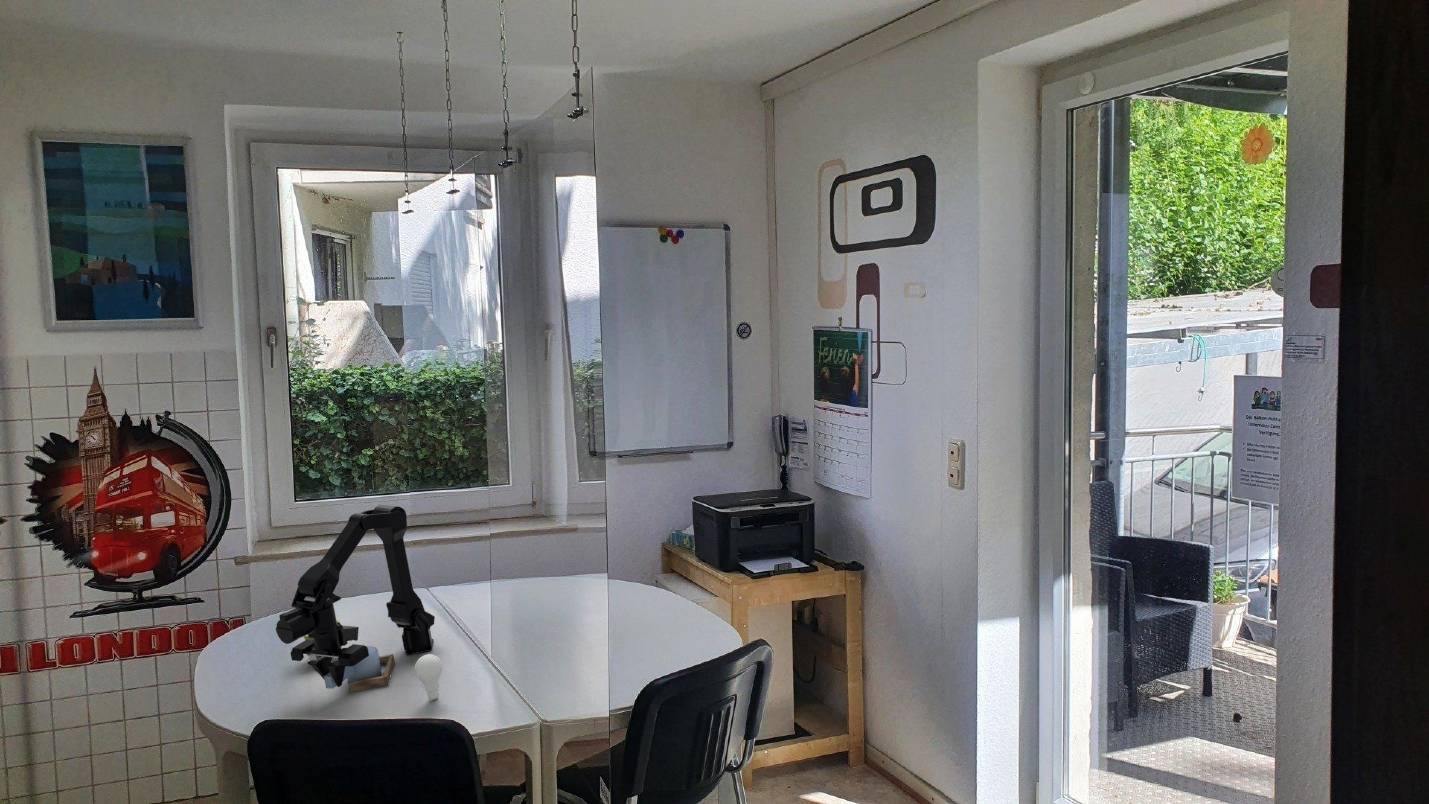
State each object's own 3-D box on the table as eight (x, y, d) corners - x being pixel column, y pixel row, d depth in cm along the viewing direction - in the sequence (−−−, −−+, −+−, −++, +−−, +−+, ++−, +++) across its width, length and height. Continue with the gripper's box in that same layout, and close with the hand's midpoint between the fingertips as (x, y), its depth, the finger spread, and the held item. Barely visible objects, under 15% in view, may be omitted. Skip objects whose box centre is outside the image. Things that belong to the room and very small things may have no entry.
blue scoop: (363, 668, 243) (358, 645, 242) (388, 671, 240) (384, 647, 239) (318, 700, 229) (313, 675, 228) (345, 703, 226) (340, 678, 225)
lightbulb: (423, 694, 226) (415, 651, 224) (449, 691, 227) (442, 648, 225) (417, 707, 220) (410, 663, 218) (444, 704, 221) (437, 660, 219)
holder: (394, 661, 245) (393, 653, 245) (388, 685, 233) (386, 676, 232) (358, 668, 243) (357, 660, 243) (350, 692, 231) (348, 683, 231)
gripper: (379, 612, 229) (390, 672, 232) (318, 607, 236) (329, 666, 239) (346, 633, 219) (358, 696, 222) (283, 627, 226) (295, 688, 229)
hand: (335, 685), depth 229 cm, fingers closed on blue scoop, 2 cm apart
